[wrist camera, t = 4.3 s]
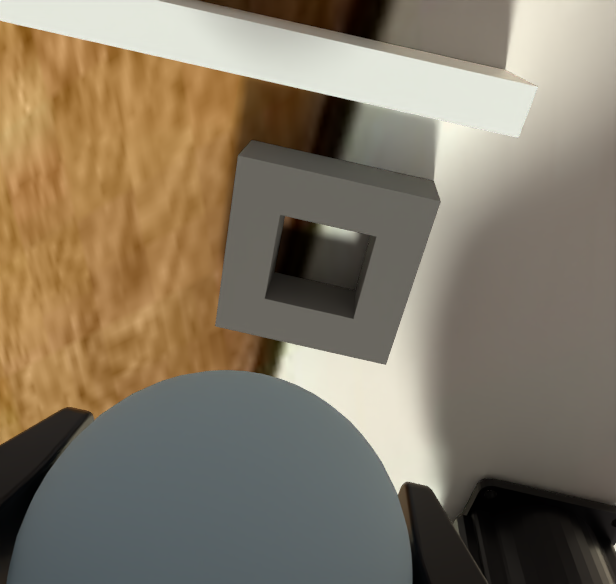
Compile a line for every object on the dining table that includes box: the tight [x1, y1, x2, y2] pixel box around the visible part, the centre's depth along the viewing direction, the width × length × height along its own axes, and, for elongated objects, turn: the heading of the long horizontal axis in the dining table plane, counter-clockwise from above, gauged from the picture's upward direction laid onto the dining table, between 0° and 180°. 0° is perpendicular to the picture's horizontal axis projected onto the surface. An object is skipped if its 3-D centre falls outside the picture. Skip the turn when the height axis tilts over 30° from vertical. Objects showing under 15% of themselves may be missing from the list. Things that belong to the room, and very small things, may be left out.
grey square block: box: [215, 140, 440, 365], centre depth 18 cm, size 6×6×2 cm
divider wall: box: [0, 0, 538, 138], centre depth 14 cm, size 18×1×4 cm, turn 79°
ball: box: [6, 370, 413, 584], centre depth 7 cm, size 5×5×5 cm
